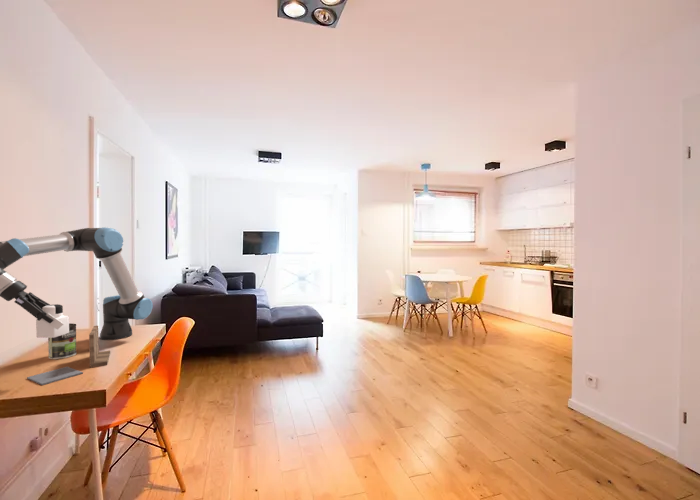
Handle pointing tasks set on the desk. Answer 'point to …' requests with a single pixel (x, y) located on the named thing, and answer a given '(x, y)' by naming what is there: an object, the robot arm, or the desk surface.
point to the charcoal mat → (54, 375)
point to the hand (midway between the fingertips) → (63, 324)
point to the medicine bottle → (47, 330)
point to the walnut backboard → (97, 350)
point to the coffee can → (63, 344)
